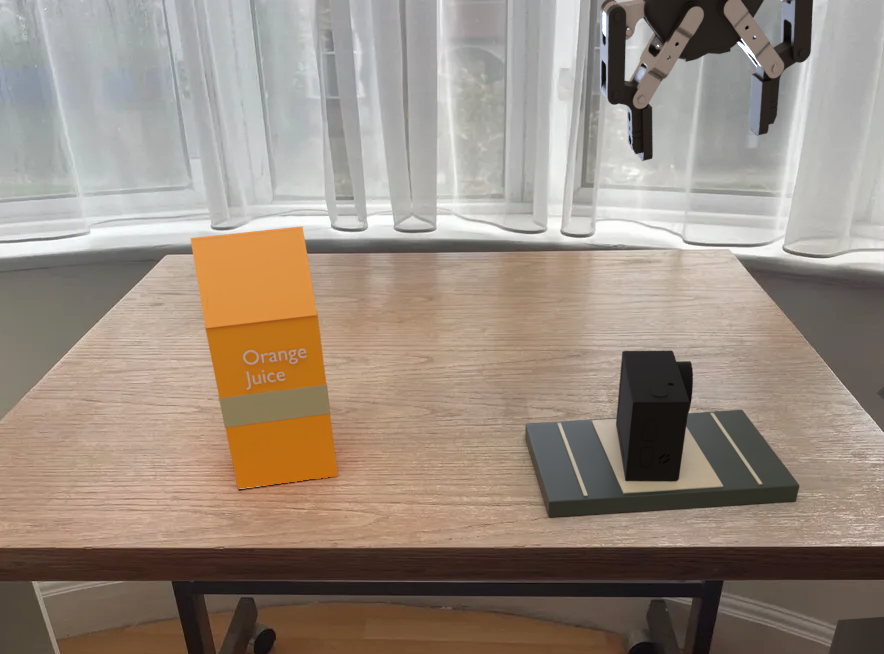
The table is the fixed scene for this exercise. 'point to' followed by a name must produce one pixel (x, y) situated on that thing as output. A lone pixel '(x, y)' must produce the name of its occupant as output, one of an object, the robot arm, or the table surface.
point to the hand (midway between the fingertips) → (701, 144)
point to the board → (699, 485)
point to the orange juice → (266, 355)
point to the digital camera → (653, 414)
